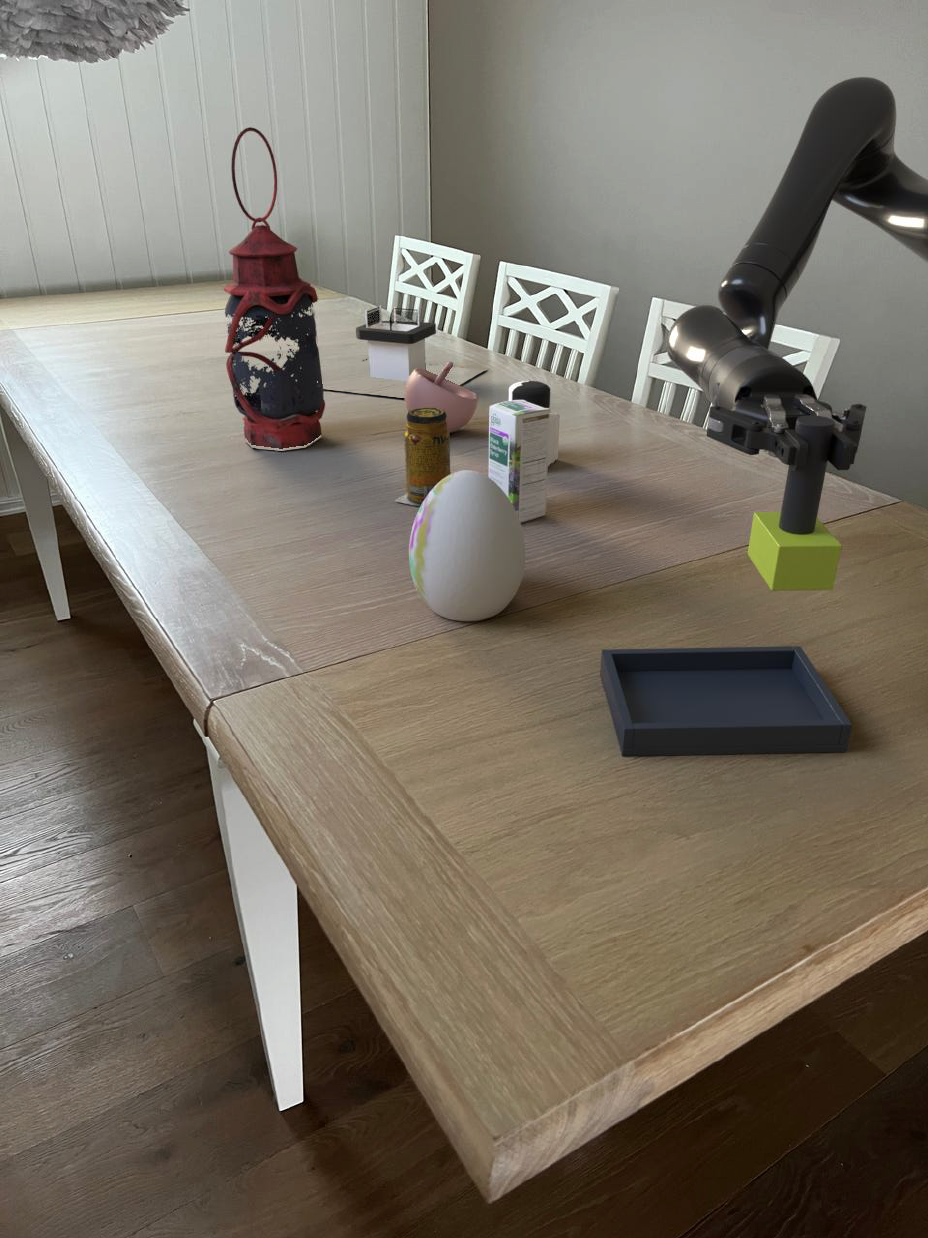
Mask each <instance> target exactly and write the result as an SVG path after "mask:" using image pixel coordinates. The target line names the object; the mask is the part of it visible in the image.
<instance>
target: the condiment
mask: <svg viewBox="0 0 928 1238" xmlns="http://www.w3.org/2000/svg"><path fill="white" fill-rule="evenodd" d="M446 417H447V416H446V412H445V411H443V410H441V409H438V408H430V407H429V408H428V407H425V408H417V409H413V410H411V411H409V412H408V411H407V414H406V429H407V430H406V431H405V433H404V453H405V460H404V462H405V481H406V493H404V494H403V495H402V496H399V497H398V498H396V499H394V502H397V503H400V504H401V503H402V504H405V505H410V506H417V507H420V506H421V505H422V503H423V501H424V500H425V498H426V497H427V495H428V494H429V493H430V491H431V490H432V489H433V488H434V487H435V486H436V485H437V484H438V483H439V482H440V481H441V480H442V479H444V478H445V477H446V476H448V475H450V474H452V473H451V442H450V438H451V436H450V433H449V432H448V430H447V422H446Z"/></svg>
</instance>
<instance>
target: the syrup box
mask: <svg viewBox="0 0 928 1238" xmlns="http://www.w3.org/2000/svg"><path fill="white" fill-rule="evenodd" d="M488 409H489V410H488V411H489V415H488V472H487V473H488V474H487V475H488V476H487V477H488V478H490V479H491V480H493V481H494V482H495V483H496V484H497V485H498V486H499V487H500V488H501V489H502V490H503V492H504V493H505V494H506V495H507V497H508V498H509V500H510V501H511V503H512V505H513V506H514V509H515V511H516V513H517V515H518V518H519V520H520V523H521V524H523V523H525V522H529V521H531V520H535V519H537V518H541V517H544V516H546V510H547V488H548V487H547V486H548V468H549V466H548V446H549V424H550V413H551V408H550V409H548V408H543V407H541V406H538V405H535V404H532V403H529V402H526V401H525V400H511V401H509V400H505V401H501V402H498V403H495V404H491V405H489V408H488Z"/></svg>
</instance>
